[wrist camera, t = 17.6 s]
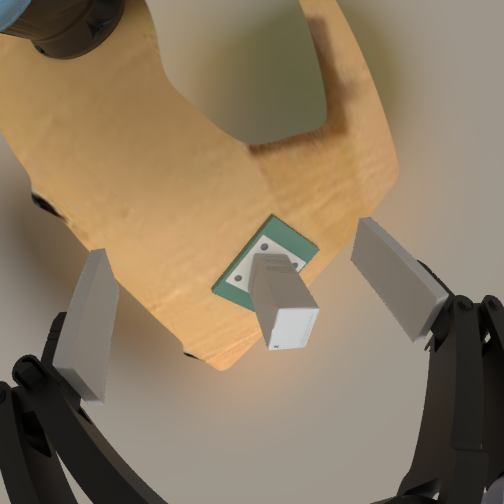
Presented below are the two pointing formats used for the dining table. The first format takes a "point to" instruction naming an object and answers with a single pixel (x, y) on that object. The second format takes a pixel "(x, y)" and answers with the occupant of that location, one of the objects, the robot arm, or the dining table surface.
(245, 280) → the board
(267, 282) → the skincare box
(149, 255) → the dining table surface
